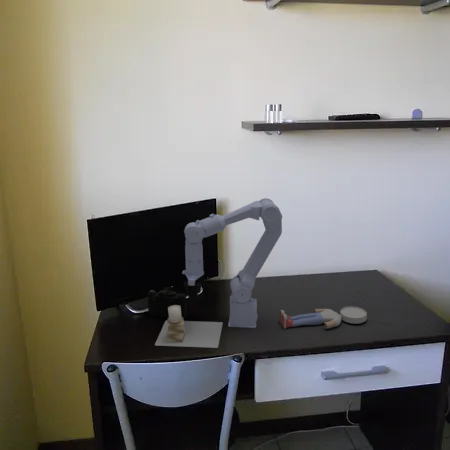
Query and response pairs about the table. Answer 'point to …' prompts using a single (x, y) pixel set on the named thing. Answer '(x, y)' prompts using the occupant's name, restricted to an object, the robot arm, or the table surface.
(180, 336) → the slab bottom
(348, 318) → the toy
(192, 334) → the mat
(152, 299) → the camera
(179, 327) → the slab top
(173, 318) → the cylinder
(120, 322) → the table surface
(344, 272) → the table surface
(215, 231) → the robot arm
